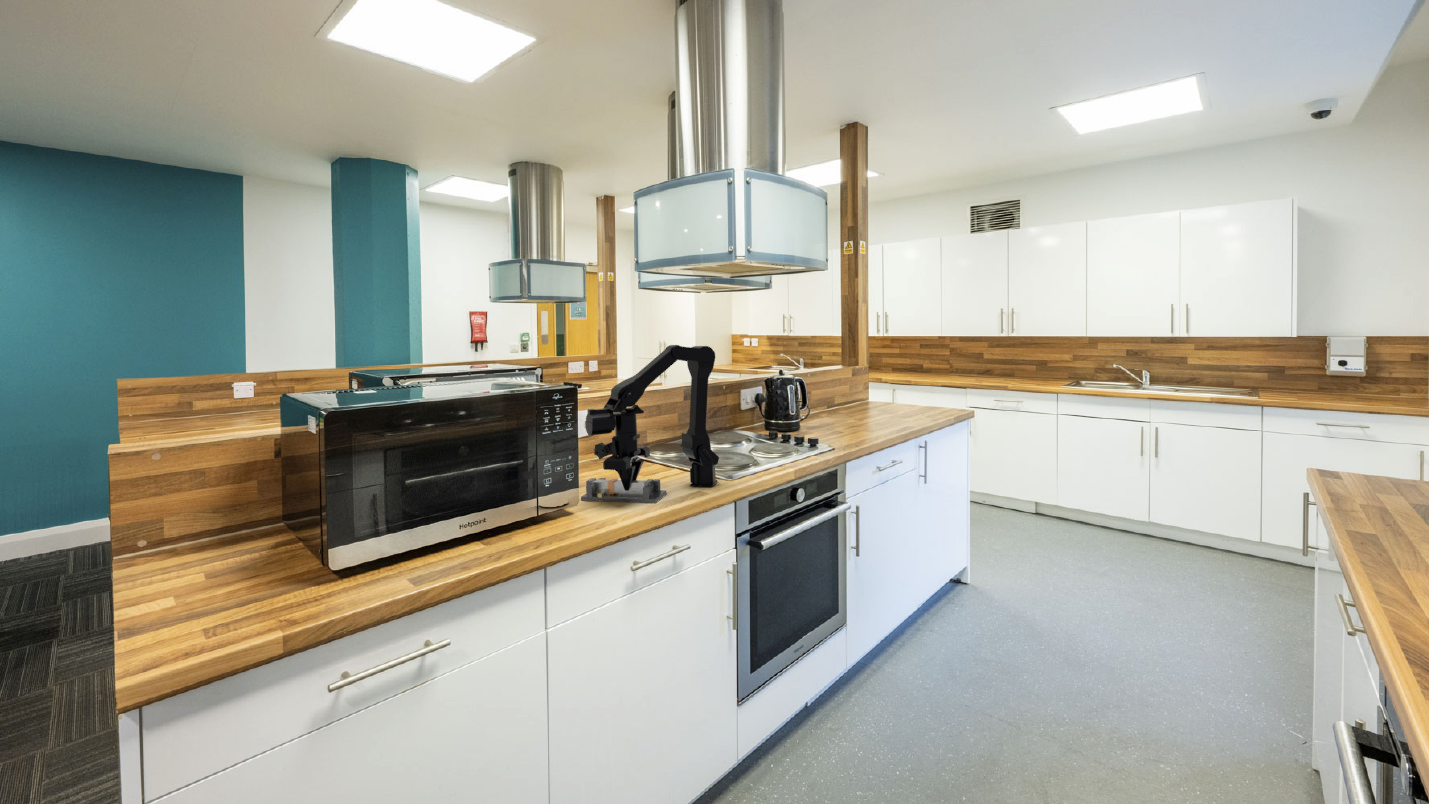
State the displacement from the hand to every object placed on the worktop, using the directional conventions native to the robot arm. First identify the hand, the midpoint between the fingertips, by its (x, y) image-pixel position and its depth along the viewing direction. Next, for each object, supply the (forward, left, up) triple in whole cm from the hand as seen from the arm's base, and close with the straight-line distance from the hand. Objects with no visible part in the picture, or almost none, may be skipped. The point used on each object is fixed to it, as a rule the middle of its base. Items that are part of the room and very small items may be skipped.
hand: (629, 488), depth 161 cm
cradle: (+2, 0, -2) cm, 3 cm away
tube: (+3, 0, -1) cm, 3 cm away
